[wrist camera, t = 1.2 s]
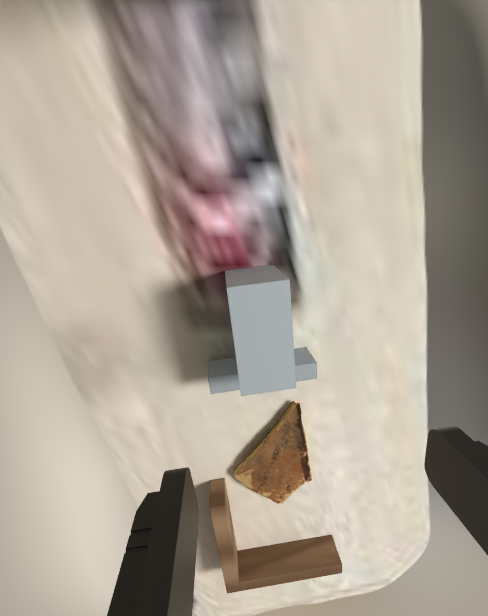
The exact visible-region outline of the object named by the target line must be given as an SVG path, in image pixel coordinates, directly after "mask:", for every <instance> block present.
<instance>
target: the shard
mask: <svg viewBox="0 0 488 616" xmlns="http://www.w3.org/2000/svg"><path fill="white" fill-rule="evenodd" d="M233 476H234V477H235V478H236V479H237V480H238V481H240V482H241V483H242V484H244V485H245V486H246V487H247V488H249V489H251V490H253V491H255V492H256V493H260V494H261V495H263V496H265V497H267V498H269V499H271V500H272V501H274V502H276V503H278V504H279V503H283V502H284V501H285V500H286V499H287V498H288V497H289V496H290V495H291V494H292V493H293V492H294V491H296V489H298V488H299V487H300V486H301V485H303V484H304V483H305V482H308V481H311V480H312V477H311V472H310V465H309V458H308V452H307V443H306V438H305V431H304V428H303V425H302V421H301V408H300V403H295V402H294V401H293V402H292V403H291V405H290V406H289V407H288V409H287V410H286V411H285V412H284V414H283V415H282V417H281V419H280V420H279V421H278V423H277V424H276V425H275V426H274V428H273V429H272V430H271V432H270V433H268V435H267V437H266V438H265V439H264V440H263V441H262V442H261V443H260V444H259V446H258V447H256V448H255V450H254V451H253V452H252V453H251V454H250V455H249V456H248V457H247V458H246V459H245V460H244V461H243V462H242V463H241V464H239V466H238V467H237V469H236V470H235V471H234V474H233Z"/></svg>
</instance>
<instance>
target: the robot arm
mask: <svg viewBox="0 0 488 616" xmlns="http://www.w3.org/2000/svg"><path fill="white" fill-rule="evenodd" d="M425 471H426V474H427V476H428V479H429V481H430V482H431V484H432V485H433V487H434V488H435V489H436V491H437V492H438V493H439V494H440V496H441V497H442V498H443V499H444V501H445V502H446V503H447V504H448V506H449V507H450V508H451V509H452V511H453V512H454V513H455V515H456V516H457V517H458V518H459V519H460V521H461V522H462V523H463V525H464V526H465V527H466V528H467V530H468V531H469V532H470V534H471V535H472V536H473V537H474V539H475V540H476V541H477V542H478V544H479V545H480V546H481V547H482V549H483V550H484V551H485V552H486V554H487V555H488V446H487V445H485V444H483V443H481V442H479V441H475V442H474V441H473V440H472V439H471V438H470V437H469V436H468V435H466V434H465V433H464V432H463V431H462V430H461V429H459V428H458V427H454V426H452V427H446V428H439V429H433V430H430V431H429V433H428V439H427V447H426V456H425ZM197 533H198V505H197V499H196V494H195V490H194V486H193V481H192V477H191V473H190V469H189V468H188V467H187V468H181V469H175V470H168V471H165V472H164V475H163V479H162V483H161V488H160V491H159V492H152V493H148V494H147V495H146V497H145V499H144V500H143V502H142V503H141V505H140V506H139V508H138V510H137V511H136V514H135V518H134V522H133V525H132V529H131V535H130V536H129V539H128V543H127V546H126V553H125V554H124V557H123V561H122V564H121V568H120V572H119V575H118V579H117V582H116V586H115V589H114V593H113V597H112V600H111V604H110V607H109V611H108V614H107V616H192V606H193V592H194V577H195V562H196V548H197Z"/></svg>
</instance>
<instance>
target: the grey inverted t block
mask: <svg viewBox="0 0 488 616" xmlns="http://www.w3.org/2000/svg"><path fill="white" fill-rule="evenodd" d="M225 277H226V287H227V295H228V302H229V310H230V317H231V324H232V332H233V339H234V346H235V354H236V357H233V358H226V359H219V360H212V361H209V372H208V381H209V387H210V392H211V394H215V393H221V392H228V391H235V390H241V396H245V395H252V394H259V393H266V392H273V391H279V390H286V389H293V388H296V382H297V381H304V380H310V379H317V362H316V361H315V359H314V358H313V356H312V355H311V353H310V352H309V350H308V349H307V347H304V348H296V349H294V343H293V327H292V311H291V296H290V280H289V279H288V278H287V277H286V276H285V275H284V274H283V273H281V272H280V271H279V270H278V269H277V268H276V267H275V266H274V265H266V266H258V267H251V268H243V269H235V270H227V271H225Z"/></svg>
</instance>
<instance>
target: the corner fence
mask: <svg viewBox="0 0 488 616" xmlns="http://www.w3.org/2000/svg"><path fill="white" fill-rule="evenodd" d="M209 509H210V513H211V518H212V523H213V528H214V533H215V537H216V542H217V547H218V552H219V557H220V561H221V566H222V571H223V576H224V581H225V585H226V590H227V593H232V592H237V591H243V590H249V589H254V588H260V587H265V586H271V585H277V584H282V583H288V582H294V581H299V580H305V579H310V578H316V577H322V576H327V575H333V574H338V573H342V563H341V560H340V557H339V554H338V551H337V549H336V546H335V543H334V540H333V537H332V535H329V536H323V537H318V538H312V539H306V540H300V541H294V542H288V543H283V544H277V545H271V546H265V547H259V548H254V549H248V550H242V551H237V546H236V541H235V535H234V530H233V524H232V518H231V513H230V507H229V501H228V496H227V490H226V484H225V479H224V478H223V479H217V480H211V481H210V506H209Z"/></svg>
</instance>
